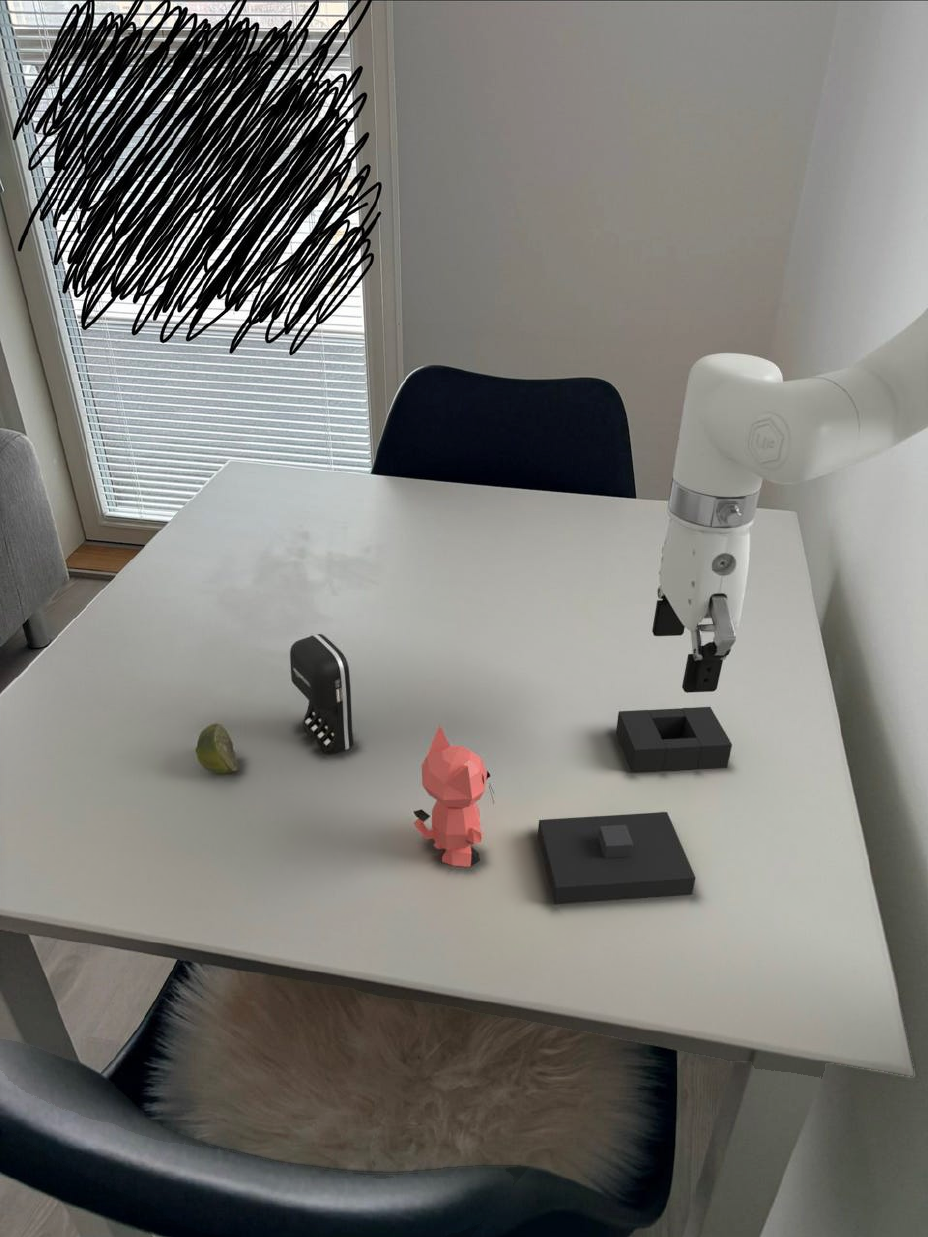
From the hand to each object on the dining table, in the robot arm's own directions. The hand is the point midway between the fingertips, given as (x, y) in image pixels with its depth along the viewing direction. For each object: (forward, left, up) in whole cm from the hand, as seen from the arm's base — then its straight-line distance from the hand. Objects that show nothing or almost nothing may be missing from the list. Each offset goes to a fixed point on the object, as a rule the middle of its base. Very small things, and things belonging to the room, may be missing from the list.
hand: (682, 661), depth 86 cm
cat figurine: (+24, +12, -11) cm, 29 cm away
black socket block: (0, 0, -11) cm, 11 cm away
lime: (+46, -1, -11) cm, 47 cm away
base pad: (+10, +15, -11) cm, 21 cm away
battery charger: (+36, -5, -11) cm, 38 cm away
